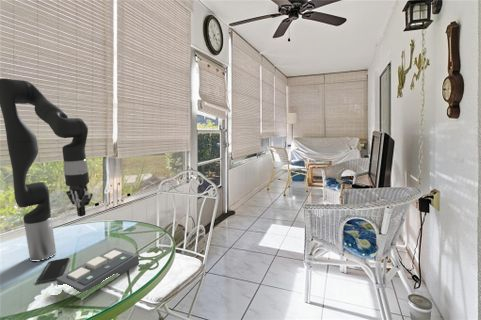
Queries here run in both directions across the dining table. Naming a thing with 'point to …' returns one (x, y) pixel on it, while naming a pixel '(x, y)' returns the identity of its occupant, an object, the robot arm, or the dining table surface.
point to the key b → (96, 263)
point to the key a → (78, 274)
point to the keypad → (101, 271)
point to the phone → (53, 270)
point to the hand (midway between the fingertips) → (81, 215)
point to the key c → (112, 255)
